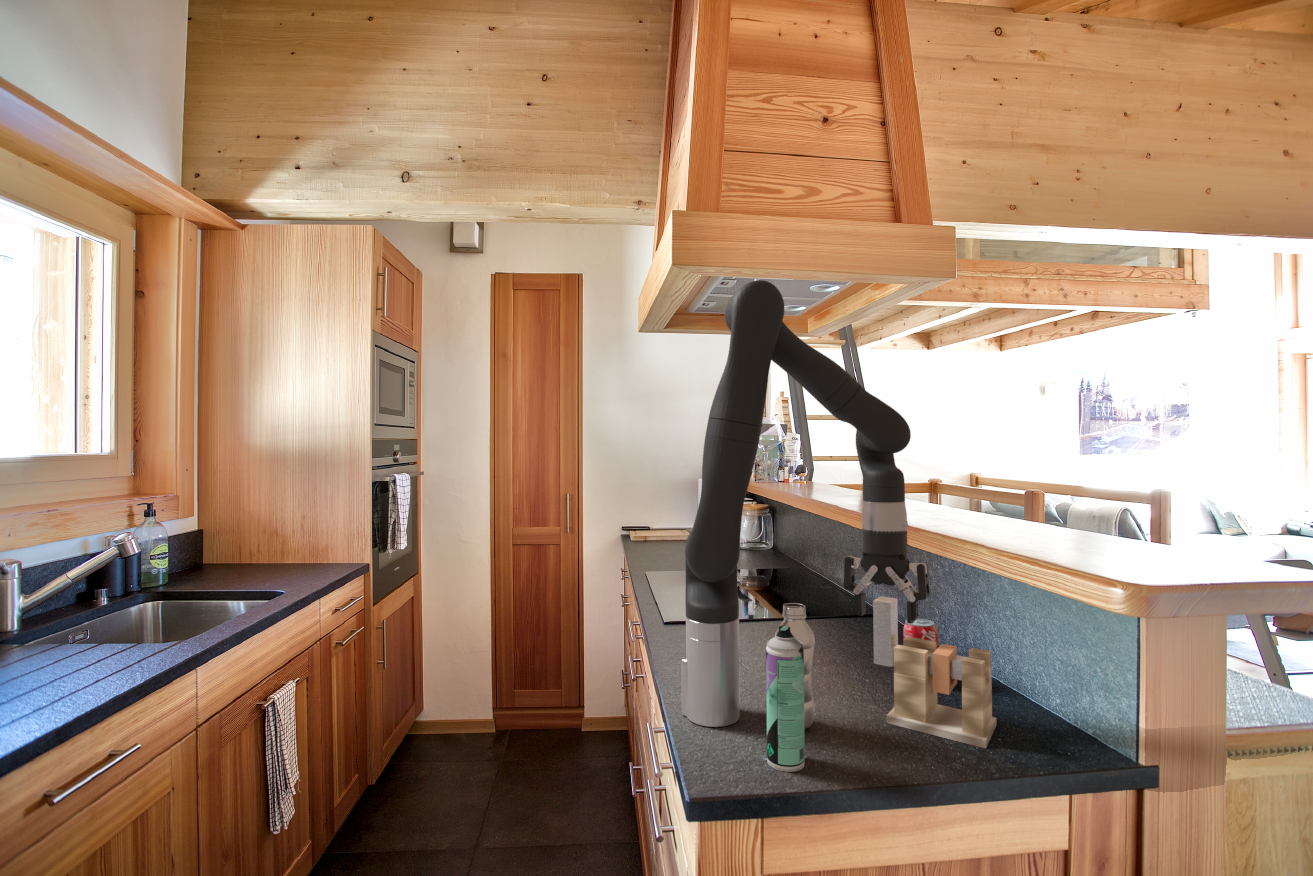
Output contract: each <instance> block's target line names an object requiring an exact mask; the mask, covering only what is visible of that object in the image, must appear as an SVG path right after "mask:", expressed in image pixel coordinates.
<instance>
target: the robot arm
mask: <svg viewBox="0 0 1313 876" xmlns="http://www.w3.org/2000/svg"><path fill="white" fill-rule="evenodd" d="M784 315H785V301H784V297H783V295H782V293H781V292H780V290H779V289H778V287H776V286H775V284H774V283H772V282H769V281H766V280H763V279H759V280H758V279H757V280H753V281H749V282H747V283H746V284H744V285H742V286H741V287H740V288H738V290H736V292H735V293H734V294H733V295H732V296H731V297H730V298H729V300H728V301H727V304H726V306H725V308H724V321H725V323H726V326H727V329H728V330H729V331H730V337H729V338H730V339H729V349H728V352H727V353H728V355H727V359H726V364H725V366H724V370H723V372H722V375H721V377H720V380H719V383H718V385H717V388H716V391H715V394H714V396H713V400H712V403H711V406H710V411H709V415H708V419H707V424H706V425H707V426H706V429H705V437H704V444H703V454H702V465H701V490H700V491H701V492H700V499H699V503H698V506H697V507H698V508H697V512H696V515H695V518H694V523H693V526H692V530H691V531H690V532H689V534H688V535H687V538H686V542H685V547H684V548H685V549H684V556H685V557H684V558H685V559H684V560H685V561H684V563H685V657H683V658H682V659H681V663H680V665H681V668H680V671H681V677H680V678H681V686H680V687H681V715H682V716H685V717H687V719H688V720H689V721H690V722H692V723H694V724H696V725H700V726H704V727H709V728H710V727H711V728H712V727H714V728H719V727H726V726H730V725H733V724H735V723H736V722H738V721H739V719H740V717H741V716H740V710H741V704H740V702H741V701H740V695H741V694H740V610H739V609H740V600H739V588H738V587H739V585H738V564H739V561H740V551H741V549H740V548H741V547H740V546H741V529H742V521H743V519H742V518H743V510H744V503H745V500H746V496H747V492H748V488H749V484H750V482H751V478H752V473H753V470H754V467H755V461H756V457H757V452H758V449H759V444H760V438H761V432H762V427H763V420H764V413H765V407H766V406H765V405H766V399H767V394H768V393H767V390H768V383H769V373H770V366H771V362H773V363H775V364H776V365H777V366H778V367H779V368H781V369H782V370H783V371H784V372H785V373H787V374H788V375H789V376H790V377H791V378H793V379H794V380H795V381H796V383H798V384H799V385H800V386H802V388H803V389H804V390H806V391H807V392H808V393H809V394H810V395H811V396H812V397H813V399H815V400H816V401H817V402H819V404H820V405H821V406H822V407H824V408H825V409H826V410H827V411H828V412H829V413H830V414H831V415H832V416H833V417H834V418H836V419H837V420H839V421H840V422H844V423H847V424H849V425H851V426H852V427H854V428H855V429H856V431H855V448H856V453H857V458H858V463H859V467H860V471H861V474H862V509H861V541H862V543H861V544H862V545H861V546H862V556H861V557H856V556H855V555H854V554H851V555H848V556H846V557H845V558H844V570H843V571H844V572H843V588H844V590H848V591H850V592H852V593H853V594H854V610H855V612H856V613H857V615H858V616H865V615H866V612H867V609H866V605H867V604H866V601H867V599H866V593H865V590H866V589H867V588H868V586H869V585H871V583H874V584H875V585H886V586H889V587H893V586H896V587H897V588H898V589H899V591H900V592H902V593H903V595H904V596H905V597H906V599H907V600H908V601H906V620H907V622H908V623H911V624H912V623H913V622H914V621H915V620H916V619H917V618H919V601H924V600H926V599H927V598H928V597H930V595H931V590H930V589H931V587H930V579H929V567H928V564H927V562H925V561H922V562H920V563H917V562H916V563H914V562H910V560H909V556H908V554H909V552H908V550H909V549H908V524H909V523H908V515H907V508H906V495H905V494H906V490H905V489H906V487H905V486H906V485H905V477H904V472H903V471H902V470H901V469H900V468H898V467H897V465H896V463H895V462H896V461H895V460H896V459H895V456H894V454H897V453H900V452H901V451H904V450H905V448H906V447H908V445H909V443H910V441H911V429H910V425H909V423H908V422H907V421H906V419H905V418H904V417H903V415H901V413H899V412H898V411H896V410H895V409H894V408H893V407H891V406H890V405H888V404H887V403H886V402H884V401H883V400H881V399H880V398H879V397H876V396H874V395H873V394H871V393H870V392H869V391H867V390H866V389H865V388H864V387H863V386H862V385H861V384H860V383H859V382H858V381H857V380H856V379H855V378H854V377H853V376H852V375H850V373H849V372H848V371H846V370H845V369H844V368H843V367H842V366H840V365H839V364H838V363H836V361H834V360H833V359H831V358H830V357H828V356H827V355H826V354H823V353H822V352H820V351H819V350H816V349H815V348H813V347H812V346H811V345H809V344H807V343H806V342H805V341H803V340H802V339H801V338H800V337H798V336H797V335H796V334H795V333H794V332H793V331H792V330H791V329H790V328H789V327H788V326H787V325H786V324H785V322H784V321H783V320H784V318H785V317H784ZM859 566H860V567H861V568H862V569H863V571H864V572H865V574H864V576H863V577H862V578H861V579H860V580H859V582H858V583H856V569H858V568H859ZM910 570H911V571H912V573H913V576H915V577H916V579H917V589H918V591H917V590H916V589H915V588H914V586H913V583H912V582H911V580H910V579H909V578H908V576H907V574H908V573H909V571H910Z"/></svg>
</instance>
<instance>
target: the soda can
mask: <svg viewBox="0 0 1313 876" xmlns="http://www.w3.org/2000/svg"><path fill="white" fill-rule="evenodd" d="M902 630H903V631H902V632H903V639H904V638H905V637H912V638H918V639H924V640H930V641H935V642H936V649H937V648H938V647H939V631H938V628H937V625H936V624H935V622H934V621H932V620H930V619H925V618H919V617H918V618H917V619H916V620H915V621H914V622H913V623H912V624H911V623H908V622H907V619H905V623H904V626H903V629H902Z"/></svg>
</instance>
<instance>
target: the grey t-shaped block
mask: <svg viewBox="0 0 1313 876" xmlns="http://www.w3.org/2000/svg"><path fill="white" fill-rule="evenodd" d="M872 611H873V612H872V613H873V614H872V617H873V618H872V620H873V623H872V624H873V625H872V627H873V664H874V665H880V666H885V667H889V668H892V667H893V668H894V647H895V646H896V645H899V630H898V629H899V628H898V627H899V625H898V624H899V623H898V622H899V621H898V620H899V619H898V618H899V616H898V598H895V597H888V596H882V595H880V596H878V597H876V598H875V599H873V600H872ZM901 645H902V646H903V644H901ZM907 647H909V646H907ZM913 648H914V647H913ZM918 649H920V648H918ZM924 650H925V649H924ZM934 652H935V651H931V650H928V673H929V674H932V675H933V653H934ZM964 657H965V656H963V655H958V654H957V655H954V656H953V658H952V659H951V660H950V678H952V679H957V681H962V659H963V658H964ZM967 657H968V658H969V656H967ZM973 659H974V658H973Z"/></svg>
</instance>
